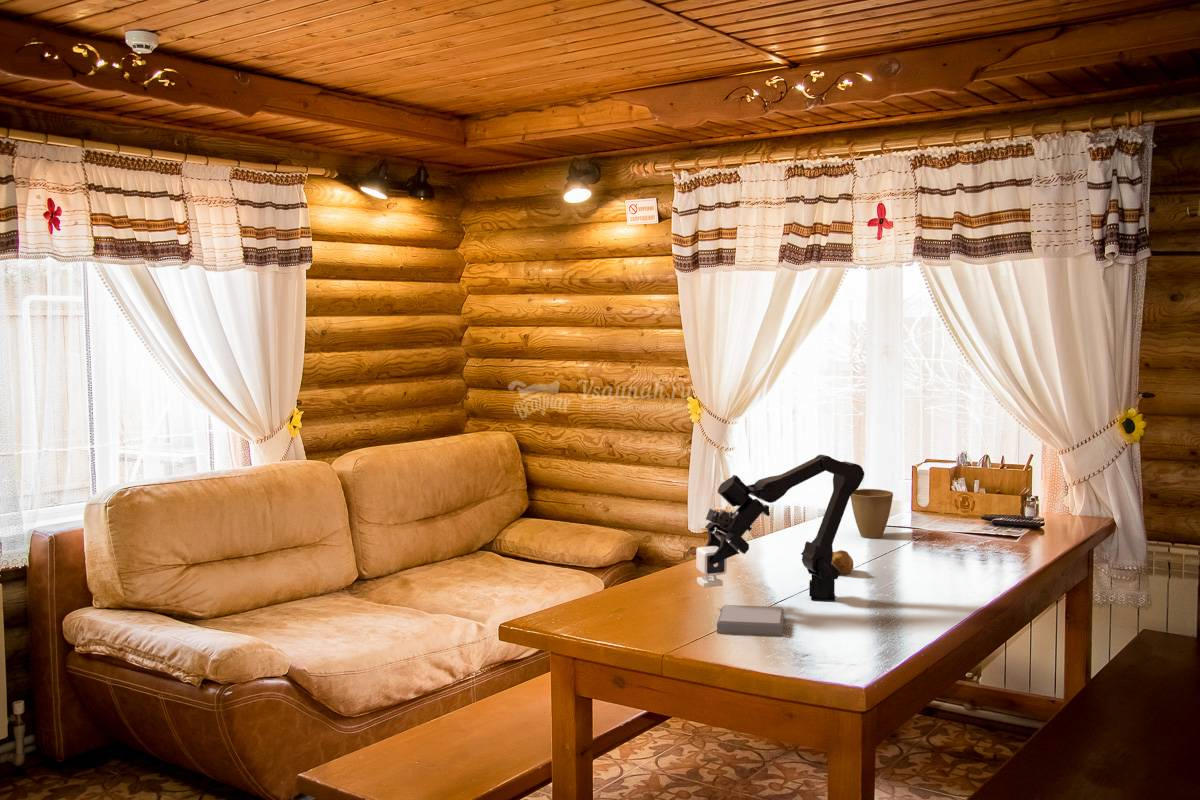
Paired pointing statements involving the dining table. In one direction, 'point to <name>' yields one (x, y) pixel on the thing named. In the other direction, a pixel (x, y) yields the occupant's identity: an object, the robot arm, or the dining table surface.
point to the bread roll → (842, 562)
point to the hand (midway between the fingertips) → (706, 561)
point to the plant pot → (871, 511)
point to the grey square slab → (751, 620)
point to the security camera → (709, 567)
